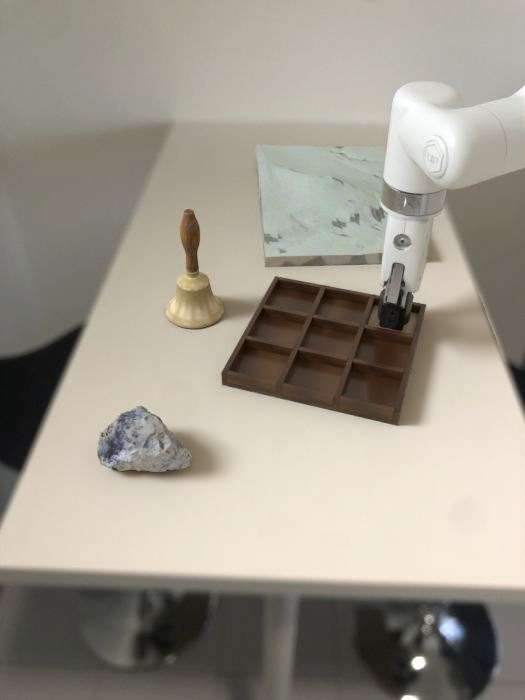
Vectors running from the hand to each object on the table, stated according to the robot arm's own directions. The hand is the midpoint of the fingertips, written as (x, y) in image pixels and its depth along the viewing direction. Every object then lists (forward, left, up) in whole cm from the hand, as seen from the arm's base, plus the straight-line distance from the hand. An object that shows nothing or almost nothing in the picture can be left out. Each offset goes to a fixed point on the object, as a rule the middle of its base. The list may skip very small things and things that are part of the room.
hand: (394, 315), depth 92 cm
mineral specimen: (+22, +32, -2) cm, 39 cm away
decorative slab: (+18, -31, -2) cm, 35 cm away
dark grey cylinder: (0, 0, 0) cm, 0 cm away
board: (+7, +7, -2) cm, 10 cm away
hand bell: (+27, +5, -2) cm, 28 cm away
